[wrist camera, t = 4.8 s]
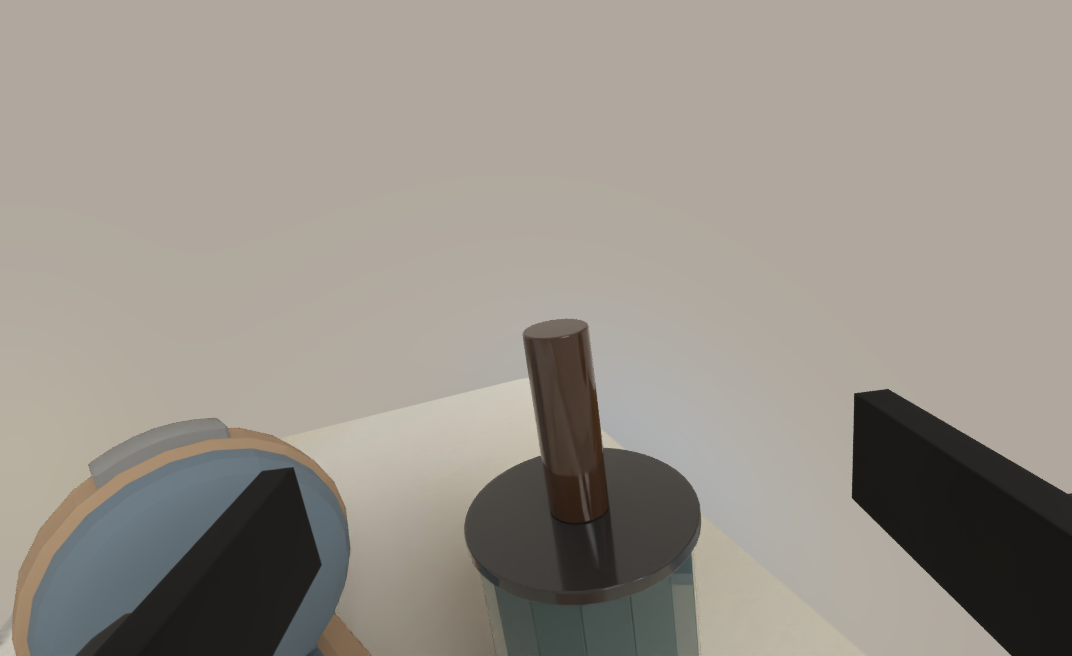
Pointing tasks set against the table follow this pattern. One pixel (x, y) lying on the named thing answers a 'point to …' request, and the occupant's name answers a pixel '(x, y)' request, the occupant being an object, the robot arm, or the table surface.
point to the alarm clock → (169, 536)
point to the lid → (578, 495)
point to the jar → (601, 622)
